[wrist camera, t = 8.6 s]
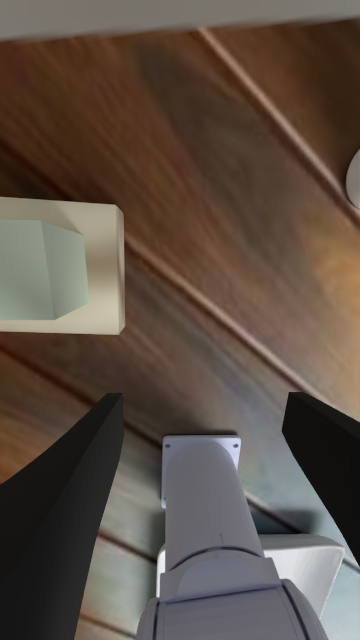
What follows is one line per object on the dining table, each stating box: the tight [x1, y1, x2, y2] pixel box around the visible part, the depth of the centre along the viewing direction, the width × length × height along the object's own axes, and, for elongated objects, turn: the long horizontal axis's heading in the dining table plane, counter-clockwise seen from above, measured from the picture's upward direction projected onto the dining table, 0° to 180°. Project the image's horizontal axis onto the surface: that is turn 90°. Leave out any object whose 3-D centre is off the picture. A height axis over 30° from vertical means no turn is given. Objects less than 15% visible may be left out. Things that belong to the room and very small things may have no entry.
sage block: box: [0, 219, 90, 320], centre depth 12 cm, size 5×5×5 cm
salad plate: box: [156, 534, 345, 620], centre depth 27 cm, size 21×21×3 cm
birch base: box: [0, 197, 125, 335], centre depth 16 cm, size 9×9×3 cm
